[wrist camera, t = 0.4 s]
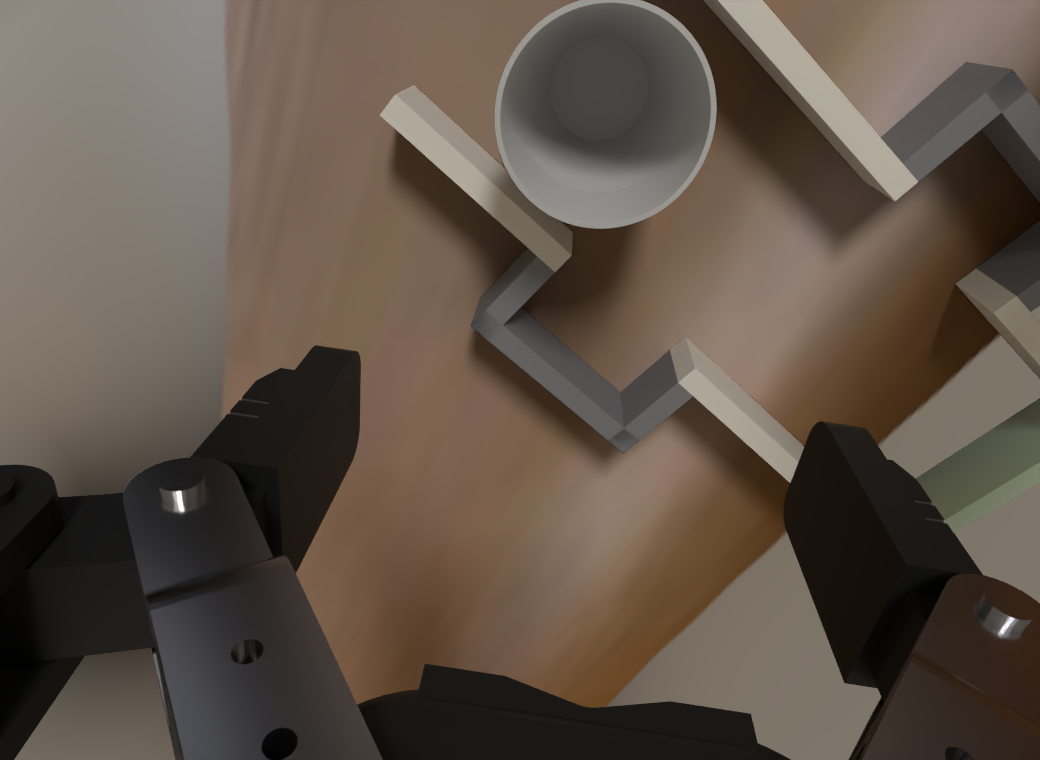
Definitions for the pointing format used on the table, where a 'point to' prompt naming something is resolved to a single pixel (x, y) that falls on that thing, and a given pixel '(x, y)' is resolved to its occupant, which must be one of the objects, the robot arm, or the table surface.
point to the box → (686, 369)
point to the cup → (605, 112)
